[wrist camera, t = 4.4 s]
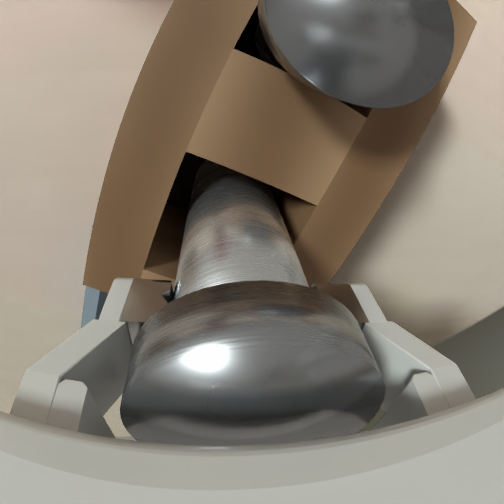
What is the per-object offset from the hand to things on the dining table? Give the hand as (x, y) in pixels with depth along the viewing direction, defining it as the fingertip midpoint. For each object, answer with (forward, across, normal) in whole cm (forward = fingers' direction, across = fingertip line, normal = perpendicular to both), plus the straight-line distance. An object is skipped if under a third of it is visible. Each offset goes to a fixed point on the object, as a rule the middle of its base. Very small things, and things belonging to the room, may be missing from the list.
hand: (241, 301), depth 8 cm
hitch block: (+9, -1, -4) cm, 10 cm away
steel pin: (+9, 0, 0) cm, 9 cm away
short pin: (+9, -2, -8) cm, 12 cm away
